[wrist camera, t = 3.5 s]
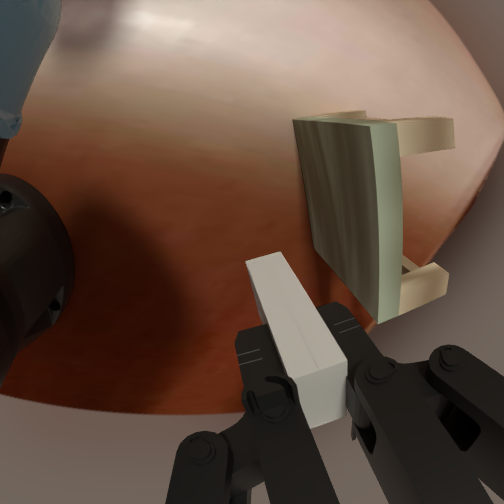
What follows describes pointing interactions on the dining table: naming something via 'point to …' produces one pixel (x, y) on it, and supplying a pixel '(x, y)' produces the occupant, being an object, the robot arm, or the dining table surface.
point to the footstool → (368, 204)
